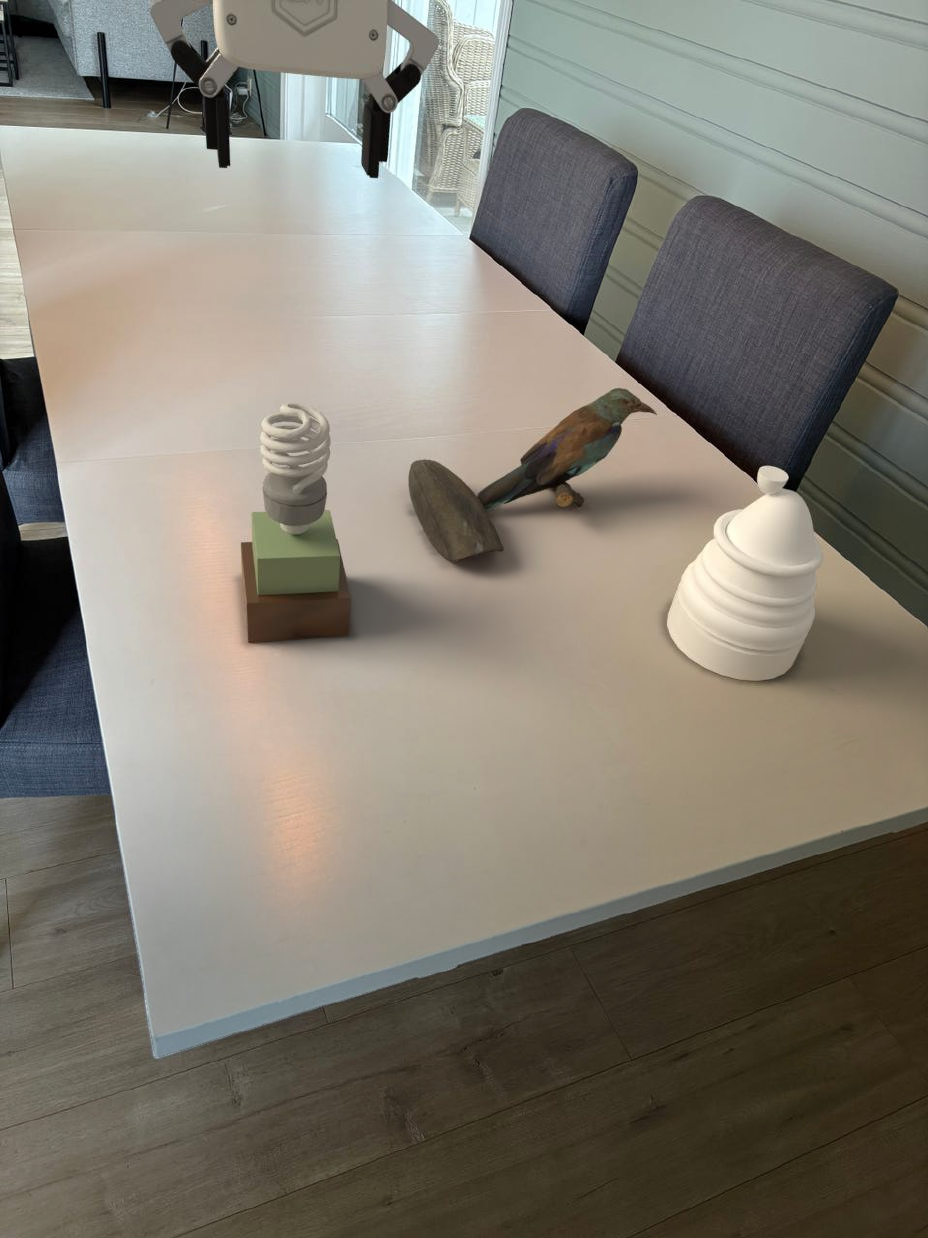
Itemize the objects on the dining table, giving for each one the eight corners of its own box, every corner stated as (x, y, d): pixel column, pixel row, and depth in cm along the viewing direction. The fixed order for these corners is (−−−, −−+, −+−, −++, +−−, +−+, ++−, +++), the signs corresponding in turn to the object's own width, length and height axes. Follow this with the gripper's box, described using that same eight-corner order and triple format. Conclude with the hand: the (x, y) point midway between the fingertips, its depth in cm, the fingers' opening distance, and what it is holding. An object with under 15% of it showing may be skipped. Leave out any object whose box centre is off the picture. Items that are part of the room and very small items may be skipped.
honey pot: (655, 653, 87) (712, 493, 75) (678, 580, 96) (732, 428, 85) (790, 698, 84) (870, 539, 73) (800, 618, 94) (872, 467, 82)
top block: (257, 595, 79) (256, 558, 76) (252, 547, 84) (251, 511, 81) (338, 591, 81) (340, 555, 78) (328, 544, 86) (329, 509, 83)
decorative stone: (507, 568, 94) (514, 535, 92) (450, 578, 92) (455, 544, 89) (444, 480, 106) (448, 449, 103) (392, 487, 103) (395, 455, 101)
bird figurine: (492, 538, 96) (607, 377, 90) (450, 491, 103) (554, 337, 97) (569, 570, 106) (678, 426, 100) (526, 525, 112) (625, 387, 106)
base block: (247, 642, 81) (246, 603, 78) (242, 579, 87) (240, 541, 84) (349, 636, 83) (351, 598, 80) (335, 575, 90) (337, 538, 87)
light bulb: (255, 519, 81) (252, 394, 73) (316, 511, 83) (320, 390, 75) (270, 556, 77) (269, 429, 69) (335, 547, 79) (340, 423, 71)
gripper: (131, -197, 45) (161, 175, 56) (469, -142, 49) (436, 193, 60) (135, -197, 50) (162, 142, 61) (439, -147, 55) (413, 160, 66)
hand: (298, 167), depth 61 cm, fingers open, 9 cm apart
